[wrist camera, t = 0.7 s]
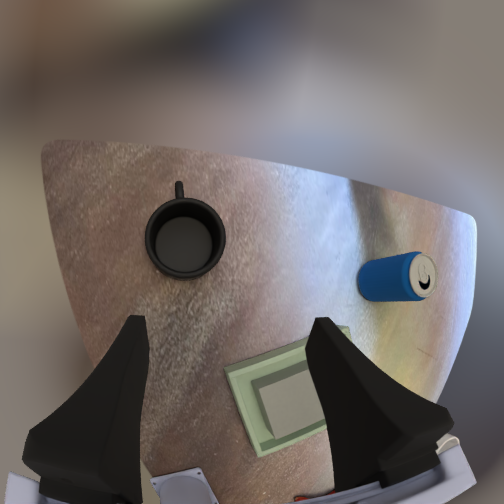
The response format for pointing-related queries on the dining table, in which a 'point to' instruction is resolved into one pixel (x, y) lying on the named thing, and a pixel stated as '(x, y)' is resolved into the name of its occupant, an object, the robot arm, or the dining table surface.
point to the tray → (249, 406)
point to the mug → (185, 237)
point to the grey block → (288, 400)
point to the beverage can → (399, 278)
